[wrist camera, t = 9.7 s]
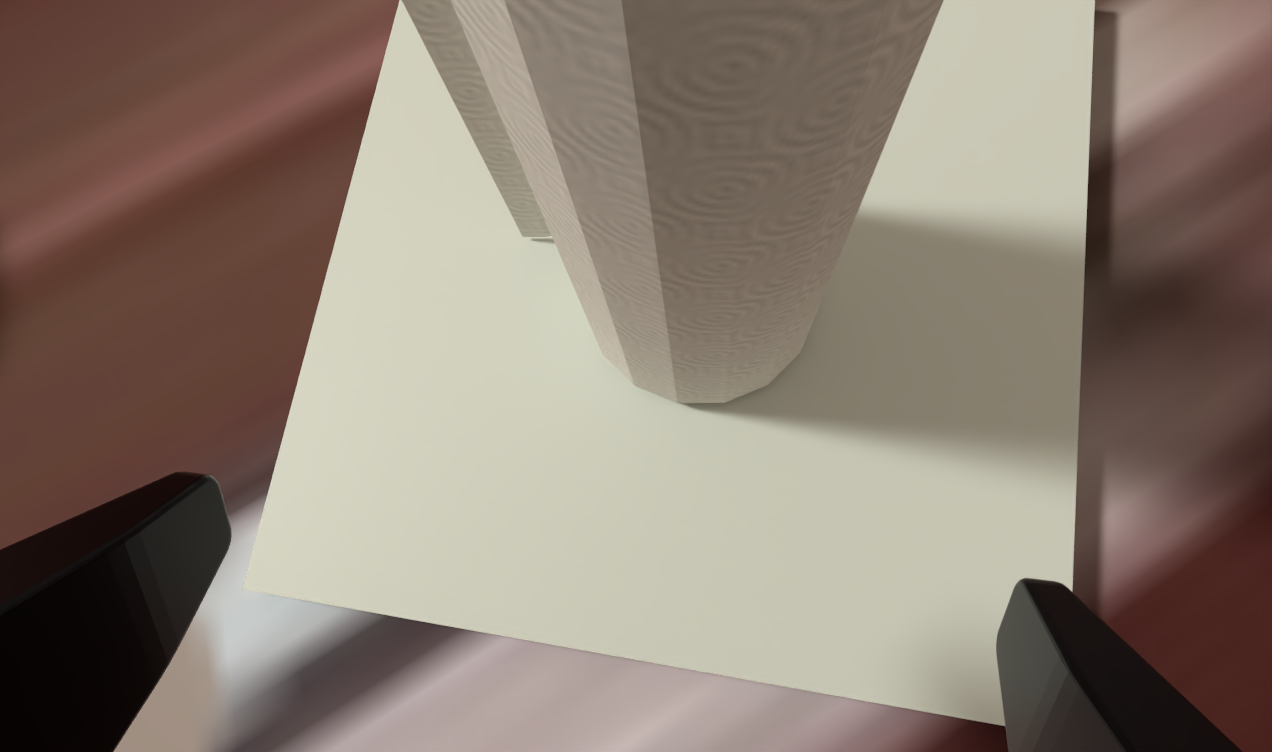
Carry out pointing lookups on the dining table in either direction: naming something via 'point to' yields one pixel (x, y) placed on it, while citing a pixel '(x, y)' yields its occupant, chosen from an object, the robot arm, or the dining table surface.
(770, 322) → the paper towel roll
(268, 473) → the dining table surface
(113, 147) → the dining table surface
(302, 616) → the dining table surface
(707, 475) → the sage board
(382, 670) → the dining table surface
